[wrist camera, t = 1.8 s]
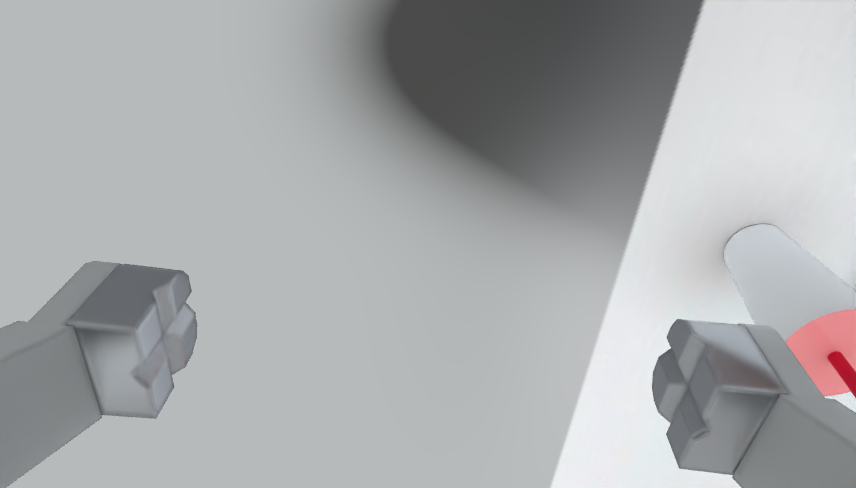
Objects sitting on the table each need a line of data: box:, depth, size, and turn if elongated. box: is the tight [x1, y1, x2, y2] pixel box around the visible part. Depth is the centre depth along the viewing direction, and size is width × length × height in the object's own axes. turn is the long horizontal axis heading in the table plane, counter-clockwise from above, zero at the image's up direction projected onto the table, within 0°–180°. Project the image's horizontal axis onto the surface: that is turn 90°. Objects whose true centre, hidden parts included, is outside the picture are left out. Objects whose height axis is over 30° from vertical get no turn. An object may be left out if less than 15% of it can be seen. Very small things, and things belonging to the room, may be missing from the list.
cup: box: [724, 224, 856, 398], centre depth 29 cm, size 5×5×12 cm
